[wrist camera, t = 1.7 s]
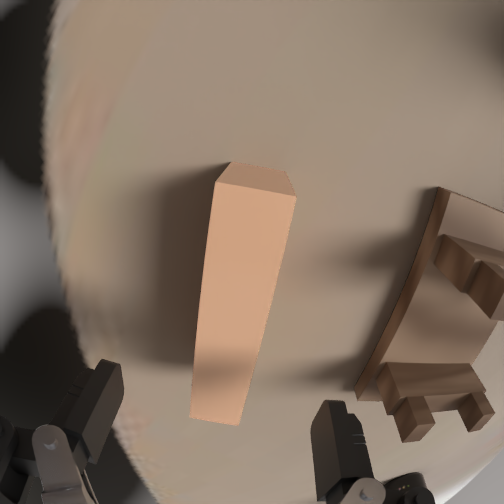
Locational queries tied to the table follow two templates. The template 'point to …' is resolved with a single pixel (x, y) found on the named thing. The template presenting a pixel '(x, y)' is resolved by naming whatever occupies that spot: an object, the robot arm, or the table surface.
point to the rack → (442, 321)
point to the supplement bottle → (406, 482)
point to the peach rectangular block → (238, 285)
